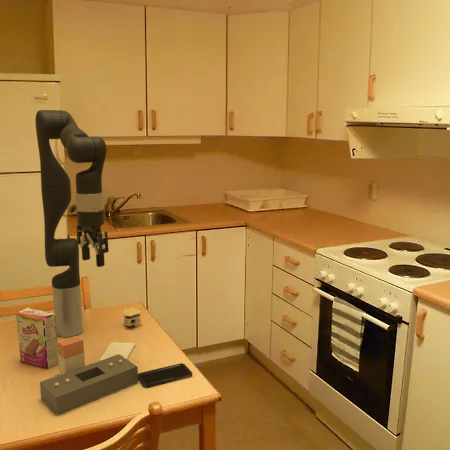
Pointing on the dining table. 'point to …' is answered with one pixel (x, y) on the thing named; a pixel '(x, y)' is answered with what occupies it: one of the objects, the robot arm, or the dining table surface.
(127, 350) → the external hard drive
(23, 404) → the dining table surface
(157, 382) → the phone
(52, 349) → the candy bar box
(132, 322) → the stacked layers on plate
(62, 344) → the plug
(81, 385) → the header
